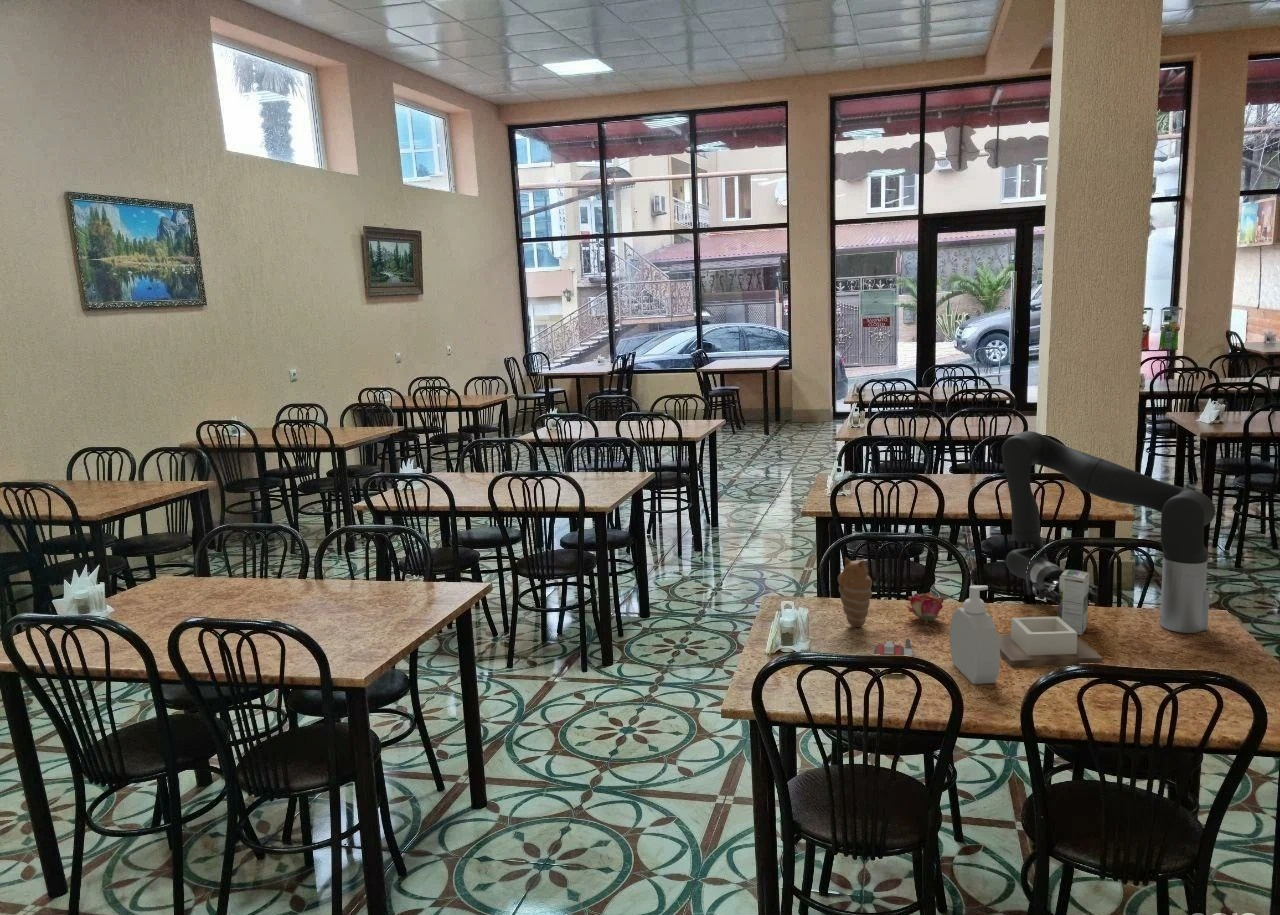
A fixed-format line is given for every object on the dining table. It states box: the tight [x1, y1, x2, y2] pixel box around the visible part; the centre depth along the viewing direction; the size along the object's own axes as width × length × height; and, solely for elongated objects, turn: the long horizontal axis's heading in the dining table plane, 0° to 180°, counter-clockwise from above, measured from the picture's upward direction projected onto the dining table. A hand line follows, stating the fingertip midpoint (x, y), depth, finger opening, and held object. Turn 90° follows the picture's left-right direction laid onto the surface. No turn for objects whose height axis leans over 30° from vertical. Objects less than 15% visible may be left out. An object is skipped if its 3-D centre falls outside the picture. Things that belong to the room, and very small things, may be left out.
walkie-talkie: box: [873, 638, 914, 675], centre depth 216 cm, size 9×4×20 cm
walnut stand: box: [997, 633, 1103, 668], centre depth 216 cm, size 20×16×2 cm
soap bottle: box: [948, 584, 1001, 685], centre depth 205 cm, size 16×5×20 cm, turn 3°
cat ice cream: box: [837, 557, 873, 628], centre depth 237 cm, size 9×8×18 cm
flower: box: [906, 591, 944, 626], centre depth 239 cm, size 10×9×8 cm
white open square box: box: [1010, 615, 1078, 655], centre depth 216 cm, size 11×11×5 cm
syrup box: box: [1057, 569, 1090, 636], centre depth 228 cm, size 6×6×14 cm
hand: (1076, 599), depth 226 cm, fingers closed on syrup box, 8 cm apart
